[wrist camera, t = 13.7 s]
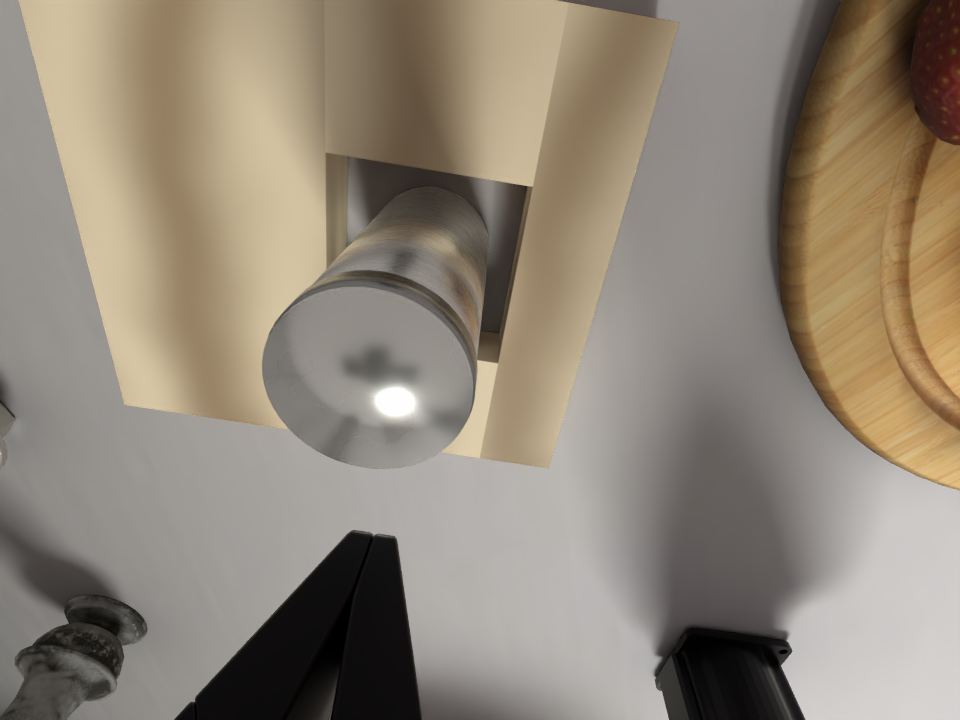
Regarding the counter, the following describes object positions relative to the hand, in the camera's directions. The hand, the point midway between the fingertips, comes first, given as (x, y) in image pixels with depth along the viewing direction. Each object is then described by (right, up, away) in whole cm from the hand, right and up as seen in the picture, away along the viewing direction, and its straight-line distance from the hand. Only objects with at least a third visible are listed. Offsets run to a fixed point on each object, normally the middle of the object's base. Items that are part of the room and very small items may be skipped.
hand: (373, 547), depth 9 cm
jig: (-3, +8, +10) cm, 13 cm away
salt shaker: (-23, -14, +24) cm, 36 cm away
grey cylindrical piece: (0, +8, +10) cm, 13 cm away
